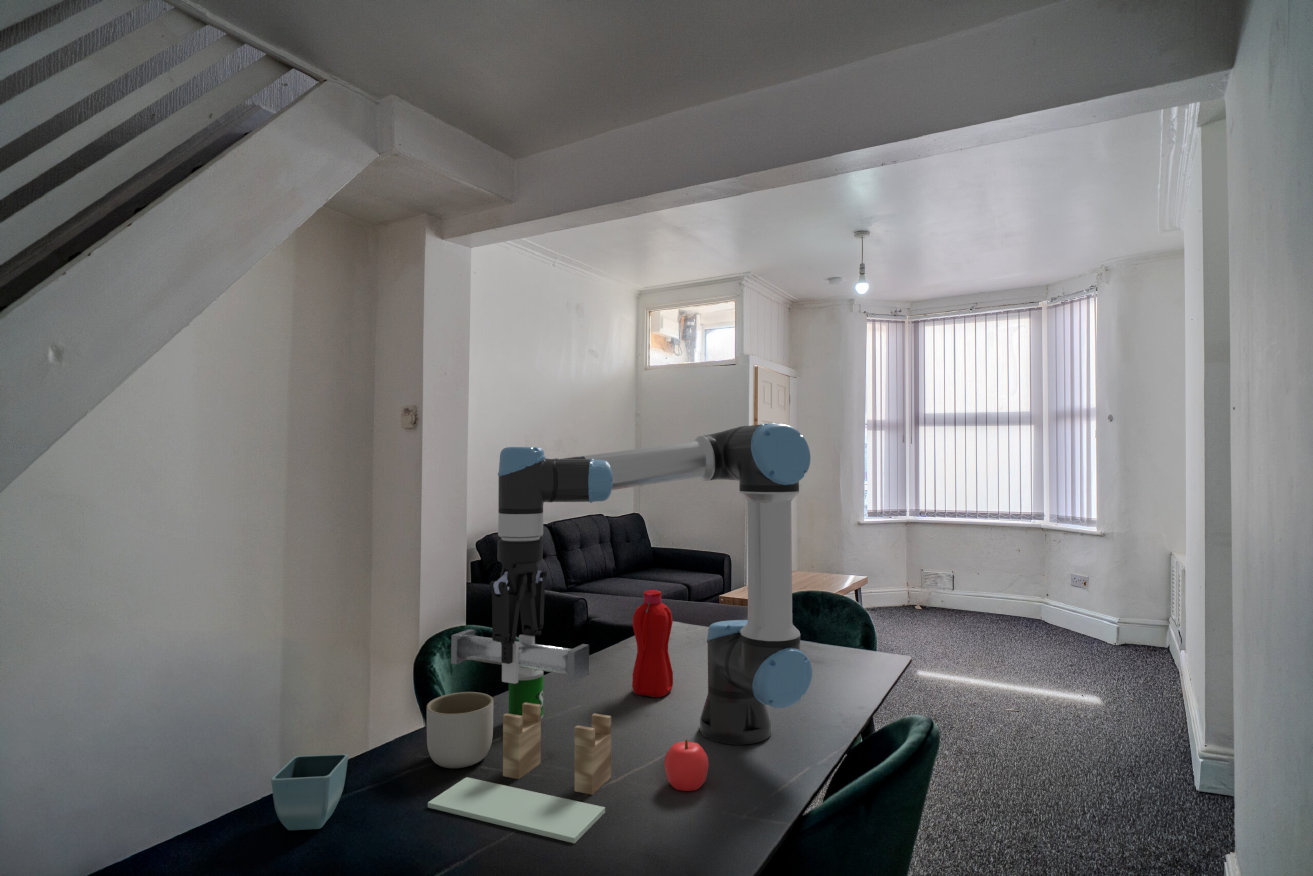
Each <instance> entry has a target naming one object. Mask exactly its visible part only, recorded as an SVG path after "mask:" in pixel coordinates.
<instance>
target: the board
mask: <svg viewBox="0 0 1313 876" xmlns="http://www.w3.org/2000/svg"><path fill="white" fill-rule="evenodd" d="M427 808H429V809H432V810H437V811H441V812H446V813H449V814H454V815H458V816H461V817H466V818H470V819H473V820H478V821H480V822H481V821H482V822H486V823H490V824H494V825H498V826H502V827H506V828H511V829H515V830H518V831H523V832H526V833H530V834H534V835H538V836H543V837H547V838H551V839H555V840H558V841H564V842H567V843H572V844H576V843H577V842H578V840H579V839H581V838H582V837H583V836H584V834H585V833H587V832H588V831H589V829H591V827H592V826H594V824H596V822H598V820H599V819H600V818H601V817H602V816H603V815H604V814H605V813H606V807H605V806H600V805H596V804H593V803H592V804H591V803H587V802H581V801H577V800H572V799H569V798H565V797H560V796H555V795H549V794H545V793H540V792H536V791H532V790H527V789H523V788H518V787H514V786H510V785H509V786H508V785H505V784H500V783H496V782H491V781H486V780H480V779H477V778H473V777H468V776H466V777H465V778H463V779H461V780H460V781H458V782H456V783H455V784H453V785H452V786H451V787H449V788H447V789H446V790H445V791H443V792H442V793H440V794H439V795H437V796H436V797H433V799H431V800H430V801H428V802H427ZM579 841H580V840H579Z"/></svg>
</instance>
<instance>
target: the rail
mask: <svg viewBox="0 0 1313 876" xmlns="http://www.w3.org/2000/svg"><path fill="white" fill-rule="evenodd" d="M450 642H451V643H450V644H451V647H450V664H453V665H458V664H462V663H464V662H466V661H469V660H470V661H476V662H483V663H489V664H495V665H502V661H501V657H502V656H501V648H502V645H501V642H496V641H493V639H492V637H486V636H485V637H484V636H481V635H480V636H478V635H476V629H467V630H466V629H465V630H463V631H460V632H458V633H457V632H456V633H454V634H451V641H450ZM515 642H518V643H519V658H518V667H521V668H528V669H534V670H541V671H543V672H547V673H549V672H550V673H556V674H561V675H566V679H567V680H566V681H567V683H573V684H574V683H576V682H579V681H580V680H582V679H583V678H585V677H587V676H588V675H590V644H587V643H586V644H585V643H582V644H580V645H577V646H576V647H574V648H568V647H562V646H561V647H560V646H553V645H545V644H538V643H535V644H531V643H524V642H519V641H516V640H515Z"/></svg>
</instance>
